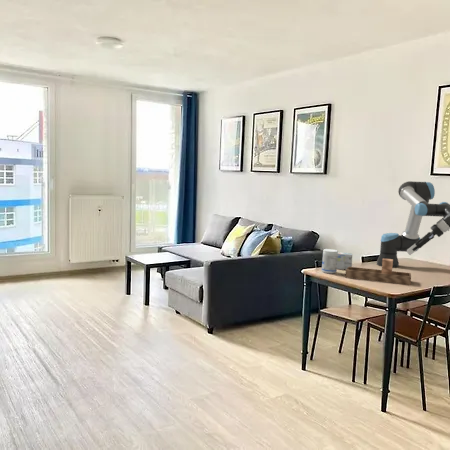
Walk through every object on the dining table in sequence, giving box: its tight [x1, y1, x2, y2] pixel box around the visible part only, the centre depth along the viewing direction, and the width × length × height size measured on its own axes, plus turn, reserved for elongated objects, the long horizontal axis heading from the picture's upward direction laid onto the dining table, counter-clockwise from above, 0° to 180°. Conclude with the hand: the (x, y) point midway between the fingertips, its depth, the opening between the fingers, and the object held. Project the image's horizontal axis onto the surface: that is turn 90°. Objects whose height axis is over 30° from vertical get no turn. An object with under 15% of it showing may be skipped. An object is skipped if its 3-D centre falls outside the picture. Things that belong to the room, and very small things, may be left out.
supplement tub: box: [321, 248, 339, 275], centre depth 312 cm, size 10×10×15 cm
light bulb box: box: [337, 252, 353, 271], centre depth 327 cm, size 11×7×11 cm, turn 84°
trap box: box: [345, 266, 412, 286], centre depth 297 cm, size 38×12×5 cm, turn 70°
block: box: [381, 258, 393, 274], centre depth 295 cm, size 6×6×10 cm
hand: (408, 252), depth 290 cm, fingers open, 7 cm apart
